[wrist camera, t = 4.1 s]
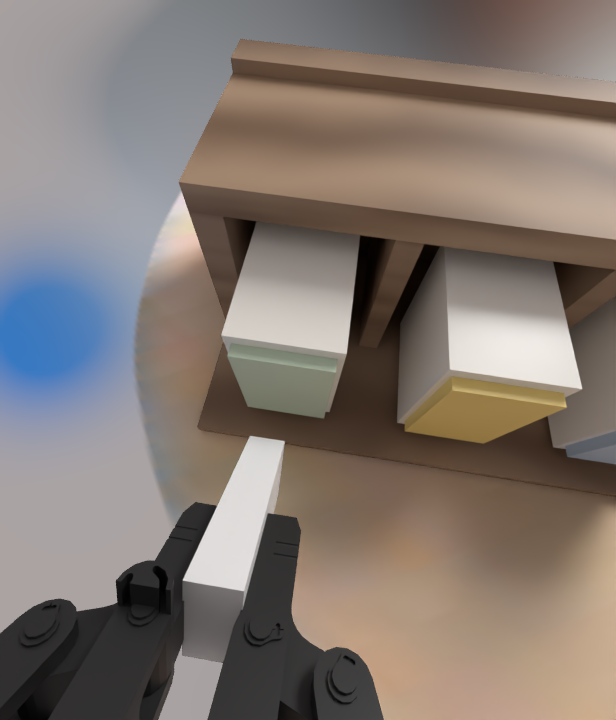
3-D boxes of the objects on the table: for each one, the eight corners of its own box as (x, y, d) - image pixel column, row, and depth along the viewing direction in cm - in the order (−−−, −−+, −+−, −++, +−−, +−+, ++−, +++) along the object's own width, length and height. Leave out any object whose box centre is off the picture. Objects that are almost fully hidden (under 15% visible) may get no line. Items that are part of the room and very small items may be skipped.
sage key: (328, 422, 19) (345, 367, 13) (243, 408, 20) (216, 348, 13) (341, 314, 23) (361, 226, 16) (270, 304, 23) (259, 212, 16)
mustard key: (483, 446, 19) (585, 404, 12) (396, 432, 19) (450, 383, 13) (474, 333, 22) (550, 252, 16) (400, 322, 23) (444, 237, 16)
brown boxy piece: (681, 506, 19) (1169, 484, 8) (199, 429, 20) (92, 322, 9) (605, 270, 27) (809, 103, 16) (261, 224, 28) (240, 38, 17)
